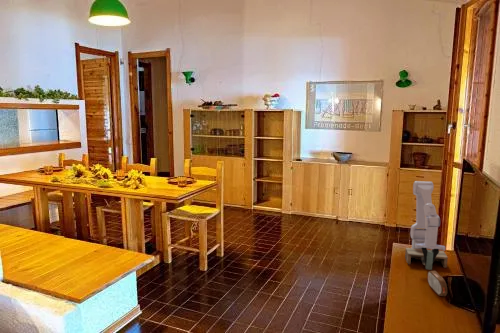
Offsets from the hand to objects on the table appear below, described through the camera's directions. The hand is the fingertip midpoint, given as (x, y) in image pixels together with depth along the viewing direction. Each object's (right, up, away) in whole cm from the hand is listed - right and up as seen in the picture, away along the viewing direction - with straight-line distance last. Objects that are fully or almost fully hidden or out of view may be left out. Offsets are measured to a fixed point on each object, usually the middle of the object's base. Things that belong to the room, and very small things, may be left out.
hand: (428, 261), depth 201 cm
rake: (+1, -3, +4) cm, 6 cm away
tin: (-7, -9, -22) cm, 25 cm away
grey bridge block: (+2, -3, +8) cm, 9 cm away
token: (+1, -3, +6) cm, 7 cm away
